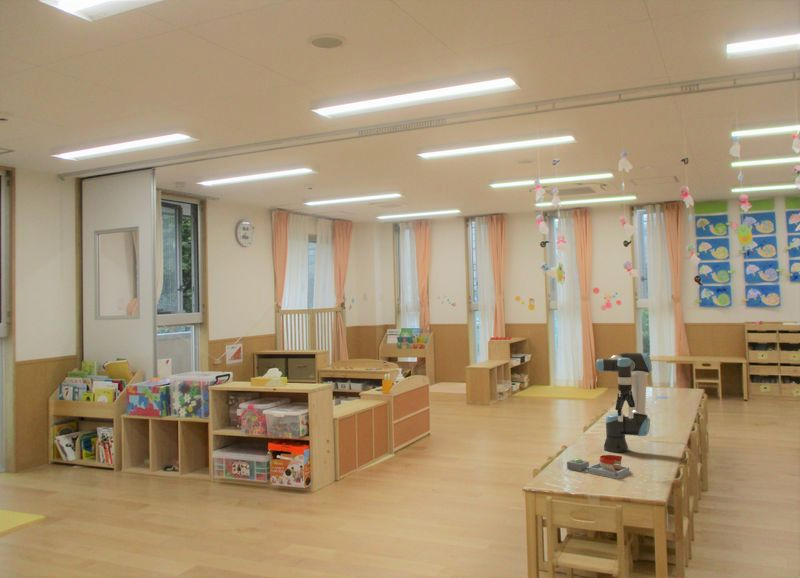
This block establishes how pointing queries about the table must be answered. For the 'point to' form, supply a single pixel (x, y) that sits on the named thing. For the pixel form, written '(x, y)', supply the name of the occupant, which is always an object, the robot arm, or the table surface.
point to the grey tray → (598, 471)
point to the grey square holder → (577, 465)
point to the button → (578, 460)
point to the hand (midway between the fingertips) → (625, 419)
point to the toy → (610, 462)
